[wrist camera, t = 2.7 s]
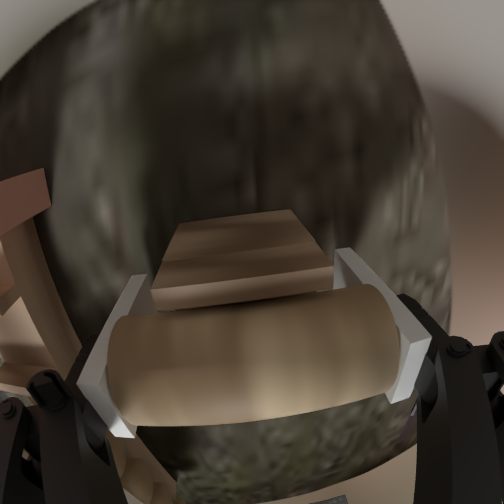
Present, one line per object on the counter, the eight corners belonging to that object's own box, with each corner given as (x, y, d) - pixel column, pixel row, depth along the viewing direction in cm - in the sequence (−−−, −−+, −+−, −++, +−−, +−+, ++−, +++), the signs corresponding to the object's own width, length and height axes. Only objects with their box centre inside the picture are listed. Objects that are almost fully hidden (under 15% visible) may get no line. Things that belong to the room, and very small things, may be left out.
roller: (158, 370, 11) (144, 445, 8) (129, 294, 10) (93, 369, 6) (348, 345, 11) (383, 413, 8) (356, 264, 10) (410, 328, 6)
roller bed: (124, 478, 23) (117, 526, 17) (-31, 232, 11) (-101, 282, 5) (189, 482, 24) (188, 535, 17) (51, 206, 12) (-44, 266, 5)
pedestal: (202, 330, 15) (197, 418, 10) (179, 223, 13) (149, 288, 8) (295, 318, 15) (324, 401, 10) (289, 209, 13) (334, 264, 8)
